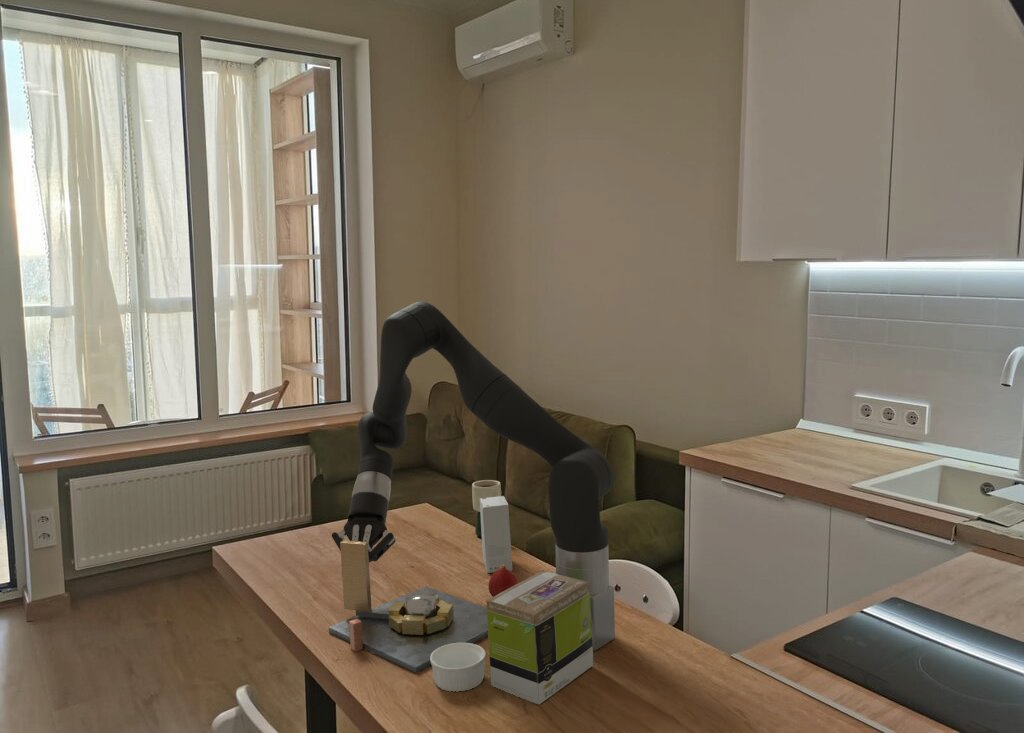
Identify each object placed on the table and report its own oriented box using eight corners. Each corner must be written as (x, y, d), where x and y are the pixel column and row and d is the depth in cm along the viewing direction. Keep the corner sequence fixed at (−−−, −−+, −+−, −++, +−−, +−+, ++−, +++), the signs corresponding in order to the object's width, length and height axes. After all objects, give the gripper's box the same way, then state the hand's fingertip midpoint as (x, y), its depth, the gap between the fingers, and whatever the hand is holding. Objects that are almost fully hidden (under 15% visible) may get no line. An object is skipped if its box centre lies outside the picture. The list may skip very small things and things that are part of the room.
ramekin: (436, 698, 124) (435, 672, 123) (426, 671, 132) (425, 646, 132) (492, 689, 126) (491, 663, 126) (479, 663, 135) (478, 638, 134)
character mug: (513, 536, 197) (511, 484, 195) (490, 543, 192) (488, 490, 191) (485, 526, 205) (484, 476, 204) (463, 533, 201) (461, 482, 199)
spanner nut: (466, 614, 150) (463, 542, 148) (426, 640, 140) (423, 563, 138) (380, 593, 161) (376, 526, 160) (338, 616, 151) (334, 544, 150)
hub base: (513, 622, 149) (512, 591, 148) (408, 677, 130) (406, 642, 130) (426, 590, 165) (425, 562, 164) (321, 635, 146) (319, 604, 146)
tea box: (545, 650, 138) (543, 567, 136) (594, 667, 132) (593, 580, 130) (488, 687, 127) (484, 597, 125) (539, 707, 120) (536, 613, 118)
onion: (483, 607, 156) (482, 567, 155) (498, 596, 161) (496, 557, 160) (510, 612, 154) (508, 572, 153) (523, 600, 159) (522, 561, 158)
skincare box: (512, 571, 174) (510, 505, 172) (485, 574, 173) (482, 507, 172) (507, 558, 182) (505, 494, 181) (481, 560, 182) (478, 496, 180)
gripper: (406, 508, 166) (394, 588, 155) (343, 507, 167) (327, 587, 157) (398, 490, 160) (386, 573, 149) (334, 490, 161) (316, 572, 151)
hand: (356, 580), depth 153 cm, fingers closed
